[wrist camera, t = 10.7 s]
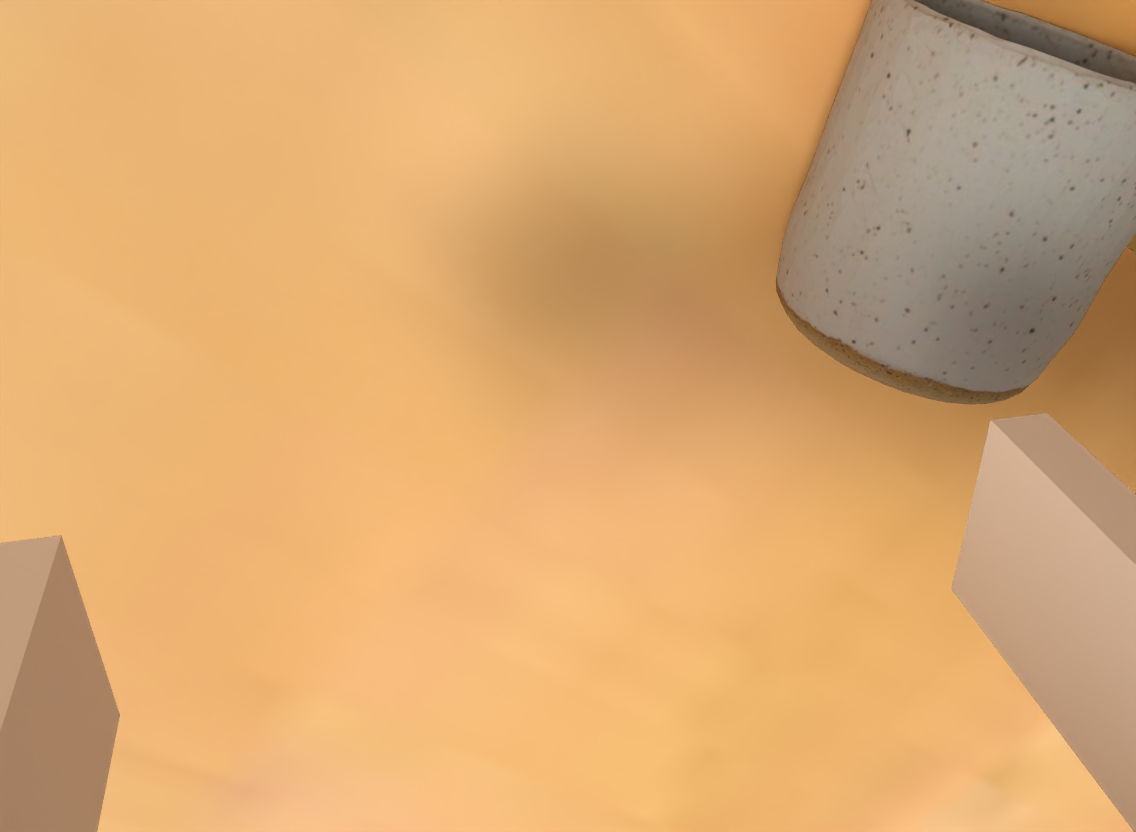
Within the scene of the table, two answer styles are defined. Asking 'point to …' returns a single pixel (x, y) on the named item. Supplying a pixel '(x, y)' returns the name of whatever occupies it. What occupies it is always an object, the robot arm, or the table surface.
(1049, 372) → the table surface
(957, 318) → the ceramic mug
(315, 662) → the table surface
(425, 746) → the table surface
